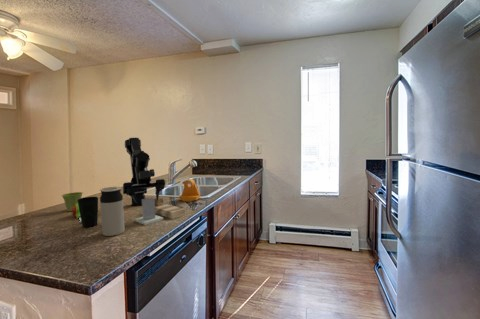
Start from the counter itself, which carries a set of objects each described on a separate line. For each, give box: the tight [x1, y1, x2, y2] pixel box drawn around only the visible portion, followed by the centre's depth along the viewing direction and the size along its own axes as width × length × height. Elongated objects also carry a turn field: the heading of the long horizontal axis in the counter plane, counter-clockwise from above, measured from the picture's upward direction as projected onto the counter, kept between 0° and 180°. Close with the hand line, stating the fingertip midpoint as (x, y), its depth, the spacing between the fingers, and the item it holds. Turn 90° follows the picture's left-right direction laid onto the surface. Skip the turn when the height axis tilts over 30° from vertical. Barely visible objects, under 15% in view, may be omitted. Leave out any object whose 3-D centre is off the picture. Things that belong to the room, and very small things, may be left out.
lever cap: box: [141, 197, 156, 220], centre depth 117 cm, size 4×5×9 cm
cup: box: [77, 196, 99, 229], centre depth 111 cm, size 8×8×12 cm
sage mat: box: [134, 214, 164, 226], centre depth 117 cm, size 9×9×1 cm
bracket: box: [178, 178, 201, 202], centre depth 154 cm, size 11×7×12 cm, turn 82°
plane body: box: [153, 197, 186, 220], centre depth 128 cm, size 20×7×6 cm, turn 49°
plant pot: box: [61, 191, 83, 212], centre depth 138 cm, size 9×9×9 cm
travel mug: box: [99, 186, 126, 237], centre depth 102 cm, size 8×8×18 cm
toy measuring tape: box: [71, 203, 82, 224], centre depth 123 cm, size 6×20×7 cm, turn 35°
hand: (147, 201), depth 118 cm, fingers open, 9 cm apart
